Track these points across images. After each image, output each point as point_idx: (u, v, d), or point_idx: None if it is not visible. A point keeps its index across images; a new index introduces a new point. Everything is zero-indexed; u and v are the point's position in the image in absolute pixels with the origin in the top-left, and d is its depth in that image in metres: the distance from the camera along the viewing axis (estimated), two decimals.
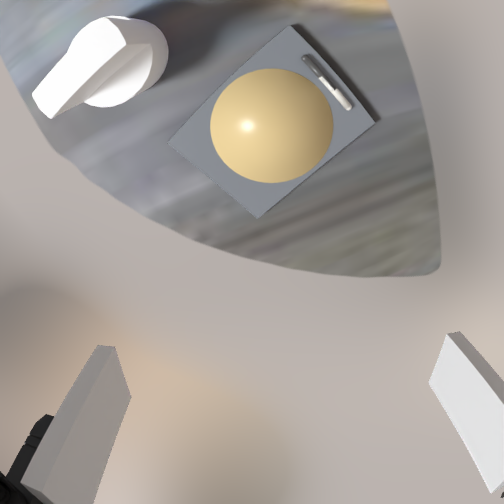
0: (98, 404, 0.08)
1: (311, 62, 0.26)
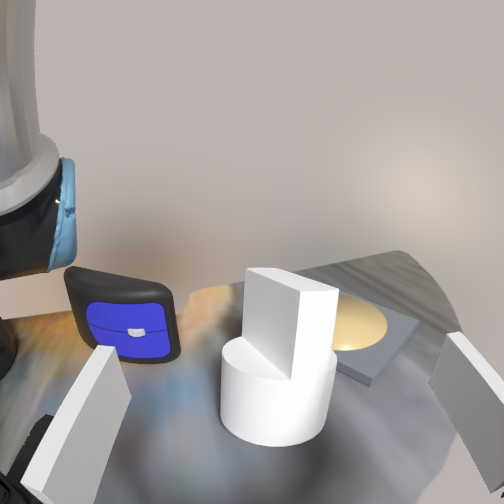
0: (98, 404, 0.08)
1: None
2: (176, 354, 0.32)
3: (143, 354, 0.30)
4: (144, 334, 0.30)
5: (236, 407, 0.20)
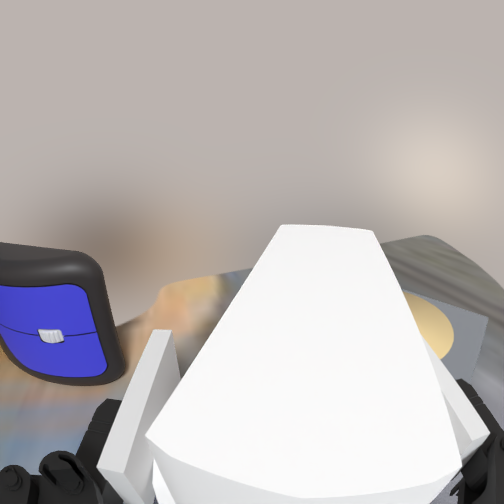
0: (161, 385, 0.10)
1: None
2: (117, 372, 0.18)
3: (66, 370, 0.17)
4: (62, 339, 0.16)
5: None
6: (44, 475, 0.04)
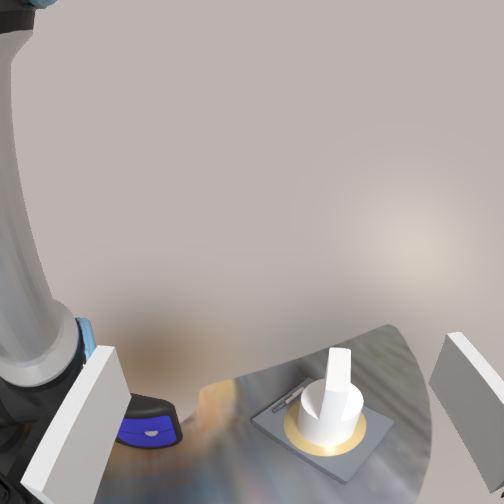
0: (98, 404, 0.08)
1: (276, 406, 0.45)
2: (180, 440, 0.39)
3: (157, 444, 0.37)
4: (157, 433, 0.36)
5: (300, 418, 0.40)
6: None
